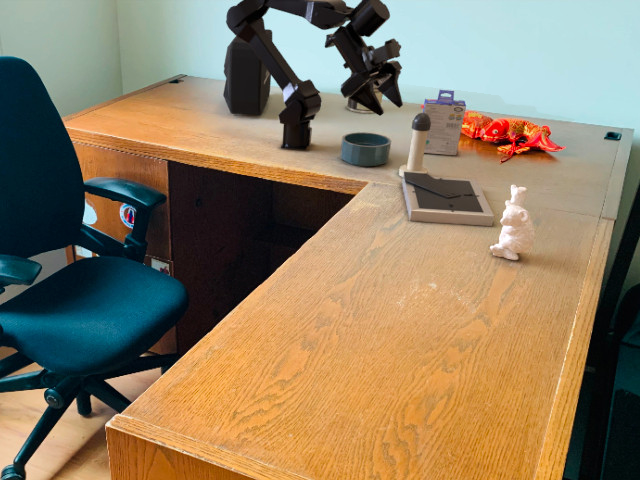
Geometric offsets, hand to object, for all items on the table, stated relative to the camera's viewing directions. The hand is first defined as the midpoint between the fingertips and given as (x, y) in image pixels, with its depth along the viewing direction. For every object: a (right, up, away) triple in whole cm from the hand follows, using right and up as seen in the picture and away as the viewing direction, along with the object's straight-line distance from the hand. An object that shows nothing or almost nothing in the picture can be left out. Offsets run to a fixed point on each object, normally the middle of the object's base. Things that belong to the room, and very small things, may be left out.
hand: (391, 110), depth 149 cm
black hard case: (-32, +20, +53) cm, 65 cm away
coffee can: (+3, +19, +52) cm, 56 cm away
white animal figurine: (+13, -37, -31) cm, 50 cm away
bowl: (-4, -8, +12) cm, 15 cm away
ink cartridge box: (+16, -4, +19) cm, 25 cm away
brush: (+6, -14, +4) cm, 15 cm away
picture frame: (+8, -23, -11) cm, 27 cm away
